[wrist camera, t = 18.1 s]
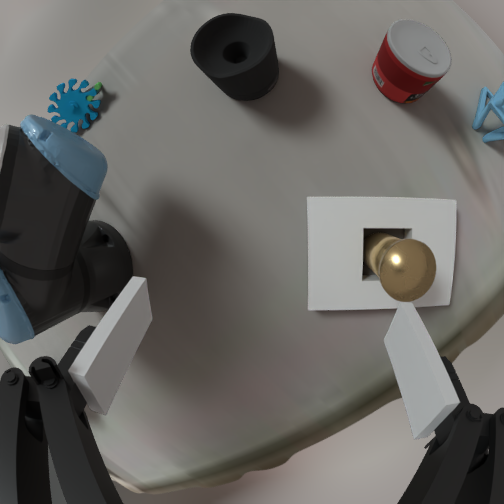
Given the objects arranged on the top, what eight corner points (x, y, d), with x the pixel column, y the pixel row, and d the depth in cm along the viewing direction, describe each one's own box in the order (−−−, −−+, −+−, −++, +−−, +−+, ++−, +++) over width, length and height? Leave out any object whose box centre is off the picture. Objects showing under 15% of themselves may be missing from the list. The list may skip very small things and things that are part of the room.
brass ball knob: (357, 274, 37) (379, 304, 25) (356, 228, 36) (380, 240, 24) (398, 272, 36) (433, 299, 24) (399, 227, 35) (437, 238, 23)
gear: (65, 143, 41) (36, 102, 33) (74, 130, 44) (49, 92, 37) (114, 112, 40) (86, 65, 32) (120, 101, 43) (96, 58, 36)
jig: (308, 302, 39) (307, 310, 36) (307, 197, 37) (307, 196, 34) (440, 298, 35) (449, 304, 32) (446, 199, 33) (456, 199, 30)
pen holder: (230, 115, 37) (207, 89, 27) (206, 65, 36) (180, 34, 26) (293, 87, 35) (288, 53, 25) (264, 39, 34) (251, 1, 24)
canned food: (410, 115, 32) (441, 88, 21) (361, 83, 33) (377, 45, 22) (428, 79, 30) (459, 47, 20) (382, 48, 31) (400, 8, 20)
